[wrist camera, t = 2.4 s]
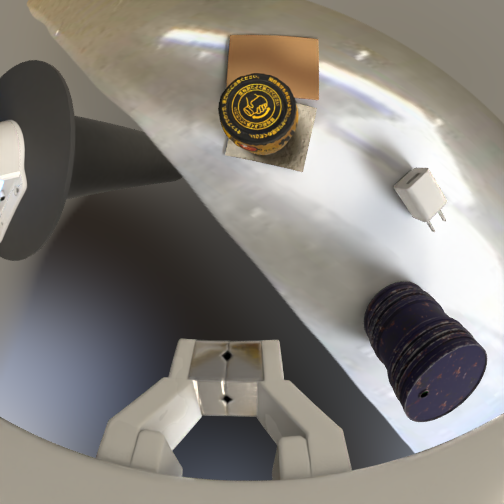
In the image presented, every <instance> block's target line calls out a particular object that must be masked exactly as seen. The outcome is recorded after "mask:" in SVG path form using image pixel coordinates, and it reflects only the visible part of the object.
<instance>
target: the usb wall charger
mask: <svg viewBox="0 0 504 504" xmlns="http://www.w3.org/2000/svg"><path fill="white" fill-rule="evenodd" d="M394 189H395V191H396V192H397V194H398V195H399V197H400V198H401V200H402V201H403V203H404V204H405V206H406V207H407V209H408V210H409V212H410V214H411V215H412V217H413V218H415V219H418V220H420V221H423V222H427V224H428V225H429V227H430V229H431V230H432V231H433V232H435V230H434V228H433V226H432V224H431V223H430V221H429V220H430V219H431V218H432V217H433V216H434V215H435V214H436V213H437V212H438V213H439V215H440V217H441V218H442V217H443V218H444V219H443V218H442V220H443V221H446V220H445V217H444V215H443V214H442V212H441V210H440V209H441V208H442V207H443V206H444V205H445V204H446V203H447V200H446V198H445V196H444V194H443V192H442V191H441V189H440V187H439V185H438V184H437V182H436V180H435V179H434V177H433V175H432V174H431V172H430V170H429V169H428V168H414V169H412V170H411V171H410V172H408V173H407V174H406V175H405V176H404V177H403V178H402V179H401V180H400V181H399V182H397V183H396V184H395V185H394Z"/></svg>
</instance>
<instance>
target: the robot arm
mask: <svg viewBox="0 0 504 504" xmlns="http://www.w3.org/2000/svg"><path fill="white" fill-rule="evenodd" d="M24 159H25V146H24V138H23V134H22V131H21V129H20V127H19V125H18V124H17V123H16V122H15V121H13V120H6V121H3V122H0V243H1V241H2V239H3V237H4V235H5V232H6V230H7V228H8V225H9V223H10V221H11V219H12V217H13V215H14V213H15V210H16V208H17V206H18V204H19V202H20V200H21V199H22V197H23V195H24V193H25V191H26V188H27V179H26V174H25V170H24ZM201 415H215V416H254V417H255V416H256V417H257V418H258V420H259V421H260V422H261V424H262V425H263V426H264V428H265V429H266V431H267V432H268V433H269V435H271V437H272V438H273V440H274V441H275V442H276V444H277V451H276V456H275V461H274V466H273V471H272V480H269V481H226V480H209V479H198V478H188V477H182V472H183V468H182V467H181V465H180V463H179V462H178V460H177V459H176V457H175V455H174V453H173V452H172V450H173V449H174V448H175V447H176V446H177V445H178V443H179V442H180V441H181V440H182V439H183V438H184V437H185V435H186V434H187V433H188V432H189V431H190V430H191V429H192V427H193V426H194V425H195V424H196V422H197V421H198V420H199V419H200V418H201V417H202V416H201ZM0 504H504V413H503V414H501V415H499V416H498V417H496V418H494V419H492V420H491V421H489V422H487V423H485V424H483V425H481V426H479V427H477V428H475V429H473V430H471V431H469V432H467V433H465V434H463V435H461V436H459V437H456V438H454V439H452V440H450V441H447V442H445V443H442V444H440V445H437V446H435V447H432V448H430V449H427V450H424V451H422V452H419V453H416V454H413V455H410V456H407V457H404V458H401V459H397V460H394V461H391V462H387V463H383V464H379V465H375V466H371V467H367V468H363V469H358V470H353V471H352V469H351V465H350V460H349V456H348V452H347V447H346V443H345V439H344V434H343V430H342V429H341V428H340V427H339V426H338V425H336V424H335V423H334V422H333V421H332V420H331V419H330V418H329V417H328V416H327V415H325V414H324V413H323V412H322V411H321V410H320V409H319V408H318V407H317V406H316V405H315V404H314V403H312V402H311V401H310V400H309V399H308V398H307V397H306V396H305V395H304V394H303V393H302V392H301V391H300V390H299V389H298V388H297V387H296V386H295V385H294V384H292V383H291V382H290V381H289V380H284V375H283V367H282V360H281V351H280V343H279V341H278V340H263V341H262V342H261V341H217V340H199V339H197V340H193V339H180V340H179V342H178V344H177V348H176V351H175V355H174V358H173V362H172V366H171V370H170V373H169V377H168V378H165V377H164V378H162V379H161V380H160V381H158V382H157V383H156V384H155V385H153V386H152V387H151V388H150V389H148V390H147V391H146V392H145V393H143V394H142V395H141V396H140V397H138V398H137V399H136V400H134V401H133V402H132V403H131V404H129V405H128V406H127V407H125V408H124V409H123V410H122V411H120V412H119V413H118V414H116V415H115V416H114V417H112V418H111V419H110V420H109V421H108V423H107V426H106V429H105V432H104V435H103V438H102V440H101V443H100V446H99V449H98V452H97V455H96V458H93V457H90V456H87V455H84V454H81V453H78V452H75V451H73V450H70V449H67V448H65V447H62V446H60V445H57V444H55V443H52V442H50V441H47V440H45V439H43V438H41V437H38V436H36V435H34V434H32V433H30V432H28V431H26V430H24V429H22V428H20V427H18V426H16V425H14V424H12V423H10V422H9V421H7V420H5V419H3V418H1V417H0Z"/></svg>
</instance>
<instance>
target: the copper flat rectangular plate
mask: <svg viewBox="0 0 504 504" xmlns="http://www.w3.org/2000/svg"><path fill="white" fill-rule="evenodd" d="M252 73H261V74H267V75H272V76H274V77H277V78H278V79H279V80H281V81H282V82H284V83H285V84H286V85H287V86H289V88H290V89H291V92H292V94H293V96H294V98H302V99H312V100H319V51H318V39H311V38H302V37H290V36H272V35H230V43H229V56H228V70H227V85H226V88H227V87H228V85H230V83H231V82H233V81H234V80H235V79H237V78H238V77H240V76H245V75H249V74H252Z"/></svg>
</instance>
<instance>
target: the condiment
mask: <svg viewBox="0 0 504 504" xmlns="http://www.w3.org/2000/svg"><path fill="white" fill-rule="evenodd" d="M218 110H219V116H220V122H221V125H222V127H223V130H224V132H225V134H226V135H227V137H228V138H229V139H228V143H227V148H226V153H225V155H226V156H232V157H237V158H242V159H247V160H252V161H257V162H261V163H266V164H271V165H275V166H279V167H284V168H288V169H292V170H296V171H300V172H303V169H304V164H305V160H306V155H307V151H308V146H309V142H310V137H311V133H312V128H313V124H314V119H315V115H316V110H317V108H313V107H309V106H305V105H301V104H297V103H296V101H295V98H294V96H293V94H292V92H291V89H290V88H289V86H287V85H286V84H285V83H284V82H282V81H281V80H279V79H278V78H277V77H274V76H272V75H267V74H261V73H252V74H249V75H245V76H240V77H238V78H237V79H235V80H234V81H233V82H231V83H230V85H228V87H227V88H226V89H225V91H224V92H223V93H222V95H221V98H220V102H219V108H218Z"/></svg>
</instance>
